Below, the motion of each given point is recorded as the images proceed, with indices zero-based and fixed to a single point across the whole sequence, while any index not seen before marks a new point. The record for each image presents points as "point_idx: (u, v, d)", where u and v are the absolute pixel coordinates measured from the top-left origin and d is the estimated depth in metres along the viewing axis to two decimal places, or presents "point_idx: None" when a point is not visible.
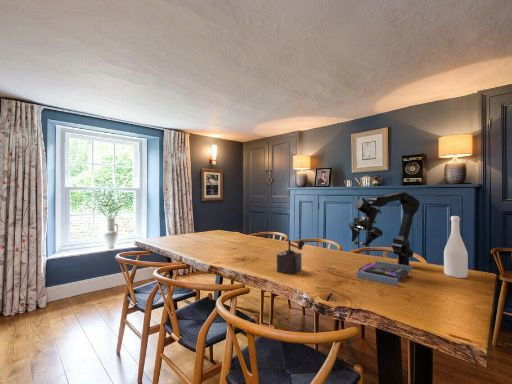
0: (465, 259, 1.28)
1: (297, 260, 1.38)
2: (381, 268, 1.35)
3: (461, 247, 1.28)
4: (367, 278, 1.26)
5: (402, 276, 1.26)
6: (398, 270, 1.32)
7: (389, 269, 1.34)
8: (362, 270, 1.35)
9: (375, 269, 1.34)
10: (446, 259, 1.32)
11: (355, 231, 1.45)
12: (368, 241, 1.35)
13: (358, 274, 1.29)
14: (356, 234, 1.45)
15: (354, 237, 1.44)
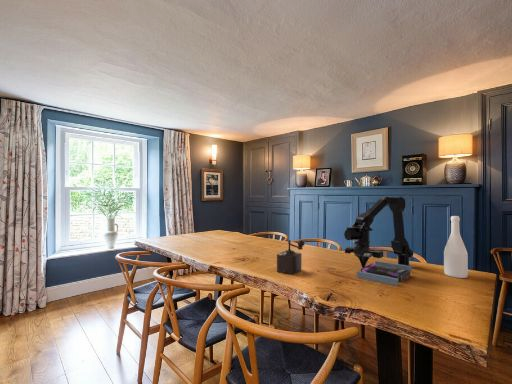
0: (465, 259, 1.28)
1: (297, 260, 1.38)
2: (383, 269, 1.34)
3: (461, 247, 1.28)
4: (367, 278, 1.26)
5: (404, 277, 1.26)
6: (400, 270, 1.32)
7: (391, 269, 1.33)
8: (364, 270, 1.35)
9: (377, 269, 1.33)
10: (446, 259, 1.32)
11: (362, 257, 1.41)
12: (365, 264, 1.40)
13: (358, 274, 1.29)
14: None
15: None
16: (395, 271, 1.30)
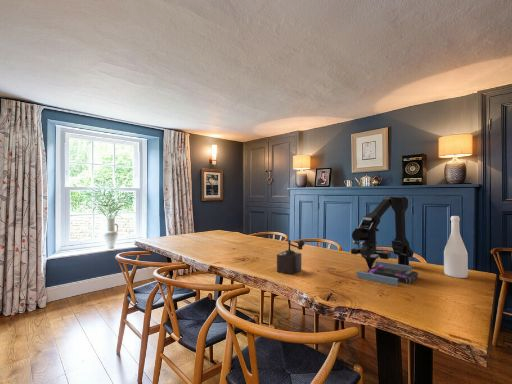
0: (465, 259, 1.28)
1: (297, 260, 1.38)
2: (390, 270, 1.32)
3: (461, 247, 1.28)
4: (367, 278, 1.26)
5: (412, 278, 1.23)
6: (408, 272, 1.29)
7: (398, 271, 1.30)
8: (371, 272, 1.32)
9: (384, 271, 1.31)
10: (446, 259, 1.32)
11: (368, 258, 1.39)
12: (372, 265, 1.38)
13: (358, 274, 1.29)
14: None
15: None
16: (403, 272, 1.28)
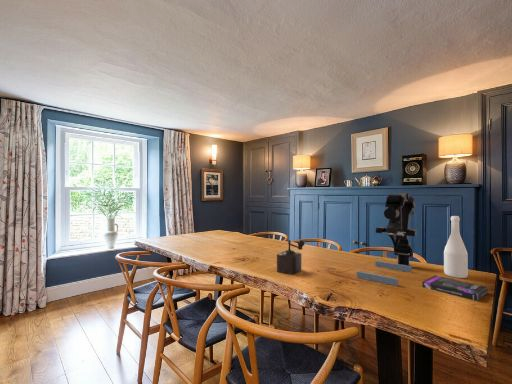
0: (465, 259, 1.28)
1: (297, 260, 1.38)
2: (451, 283, 1.13)
3: (461, 247, 1.28)
4: (367, 278, 1.26)
5: (481, 295, 1.03)
6: (474, 286, 1.09)
7: (462, 284, 1.11)
8: (426, 284, 1.15)
9: (443, 283, 1.12)
10: (446, 259, 1.32)
11: (394, 236, 1.38)
12: (397, 243, 1.37)
13: (358, 274, 1.29)
14: (395, 238, 1.39)
15: (395, 242, 1.38)
16: (468, 287, 1.08)
